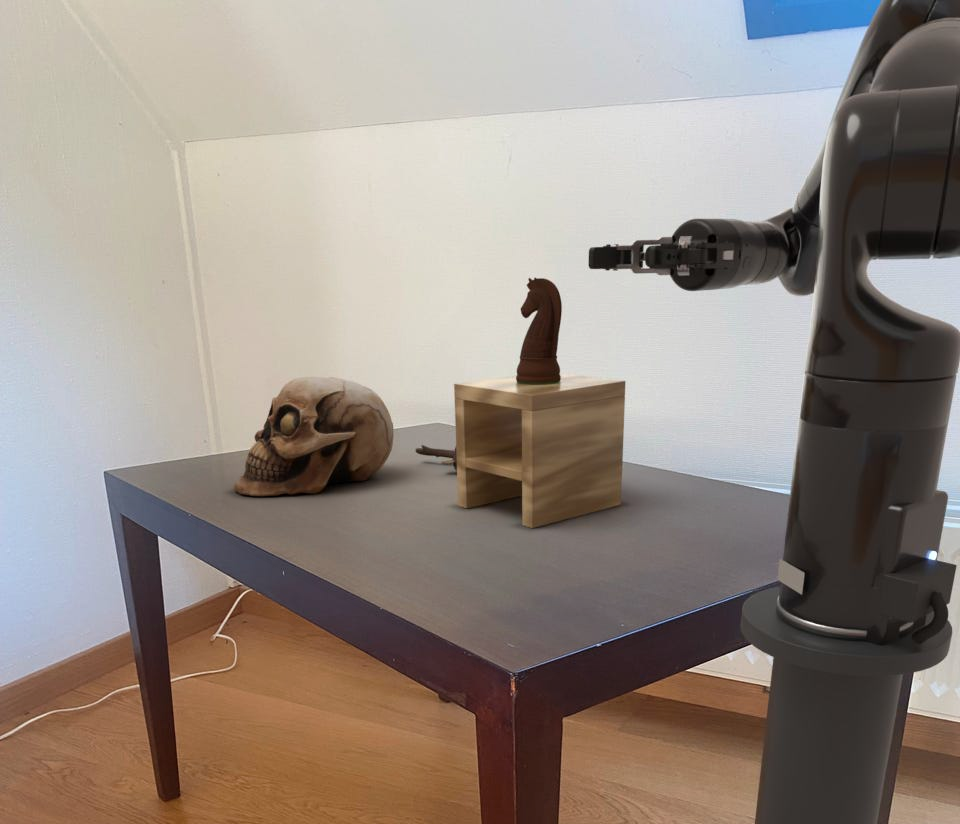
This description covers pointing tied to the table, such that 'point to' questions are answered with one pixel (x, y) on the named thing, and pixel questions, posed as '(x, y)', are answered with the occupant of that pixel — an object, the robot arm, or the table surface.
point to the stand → (541, 445)
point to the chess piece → (541, 334)
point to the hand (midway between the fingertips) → (620, 257)
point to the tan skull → (318, 438)
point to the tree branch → (439, 454)
